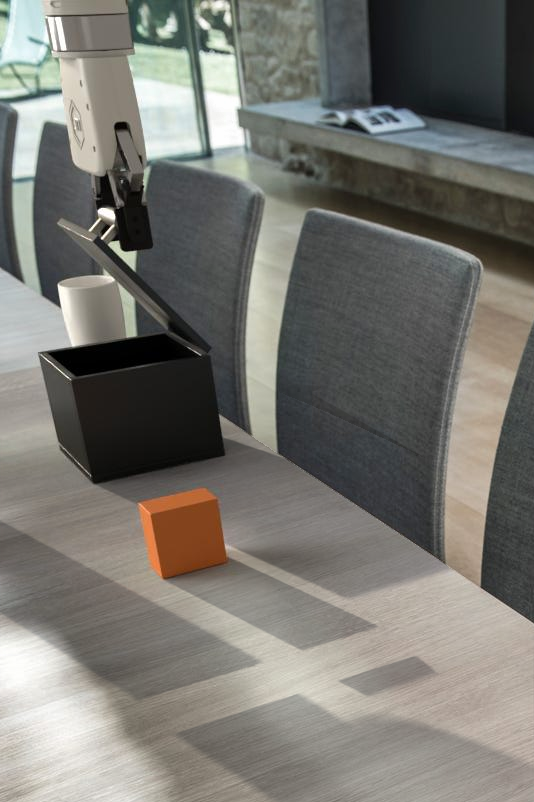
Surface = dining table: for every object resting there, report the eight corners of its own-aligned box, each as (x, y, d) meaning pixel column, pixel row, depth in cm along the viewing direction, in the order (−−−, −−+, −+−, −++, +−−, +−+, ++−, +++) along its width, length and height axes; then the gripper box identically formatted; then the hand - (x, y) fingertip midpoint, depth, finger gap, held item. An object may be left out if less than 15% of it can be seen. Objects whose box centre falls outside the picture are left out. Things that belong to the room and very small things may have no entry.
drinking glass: (111, 398, 144) (86, 273, 136) (152, 405, 141) (129, 277, 133) (71, 414, 139) (43, 285, 131) (114, 421, 136) (88, 290, 128)
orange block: (162, 579, 100) (150, 514, 97) (150, 566, 102) (137, 502, 99) (227, 562, 102) (217, 498, 99) (214, 549, 105) (204, 487, 101)
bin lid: (92, 241, 109) (125, 203, 109) (56, 223, 118) (86, 188, 118) (207, 353, 120) (237, 318, 120) (166, 329, 129) (194, 296, 129)
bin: (93, 483, 119) (70, 379, 114) (60, 450, 128) (37, 352, 123) (225, 455, 126) (210, 355, 120) (185, 424, 135) (169, 330, 129)
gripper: (27, 37, 111) (67, 237, 121) (76, 42, 99) (116, 263, 109) (103, 34, 115) (136, 228, 124) (160, 38, 102) (192, 254, 112)
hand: (127, 243), depth 117 cm, fingers closed on bin lid, 5 cm apart
